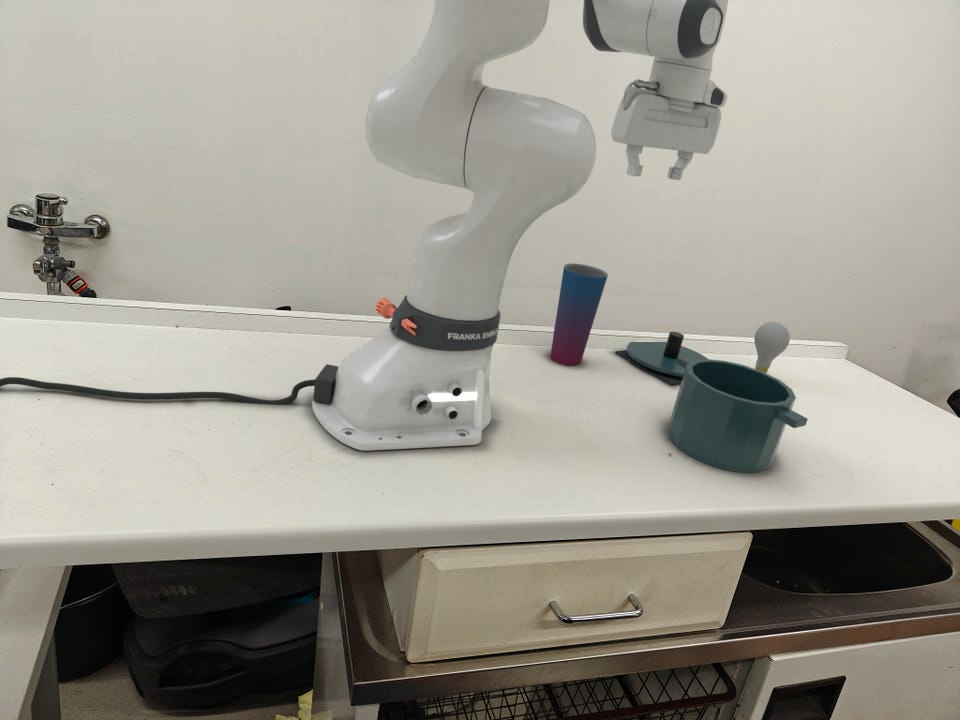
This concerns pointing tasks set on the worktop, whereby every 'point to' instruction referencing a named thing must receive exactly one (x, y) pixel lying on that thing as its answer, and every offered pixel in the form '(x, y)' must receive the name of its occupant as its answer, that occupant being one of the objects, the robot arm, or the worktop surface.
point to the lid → (662, 354)
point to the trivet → (664, 377)
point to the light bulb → (770, 344)
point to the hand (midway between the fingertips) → (653, 177)
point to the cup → (576, 311)
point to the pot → (731, 414)
